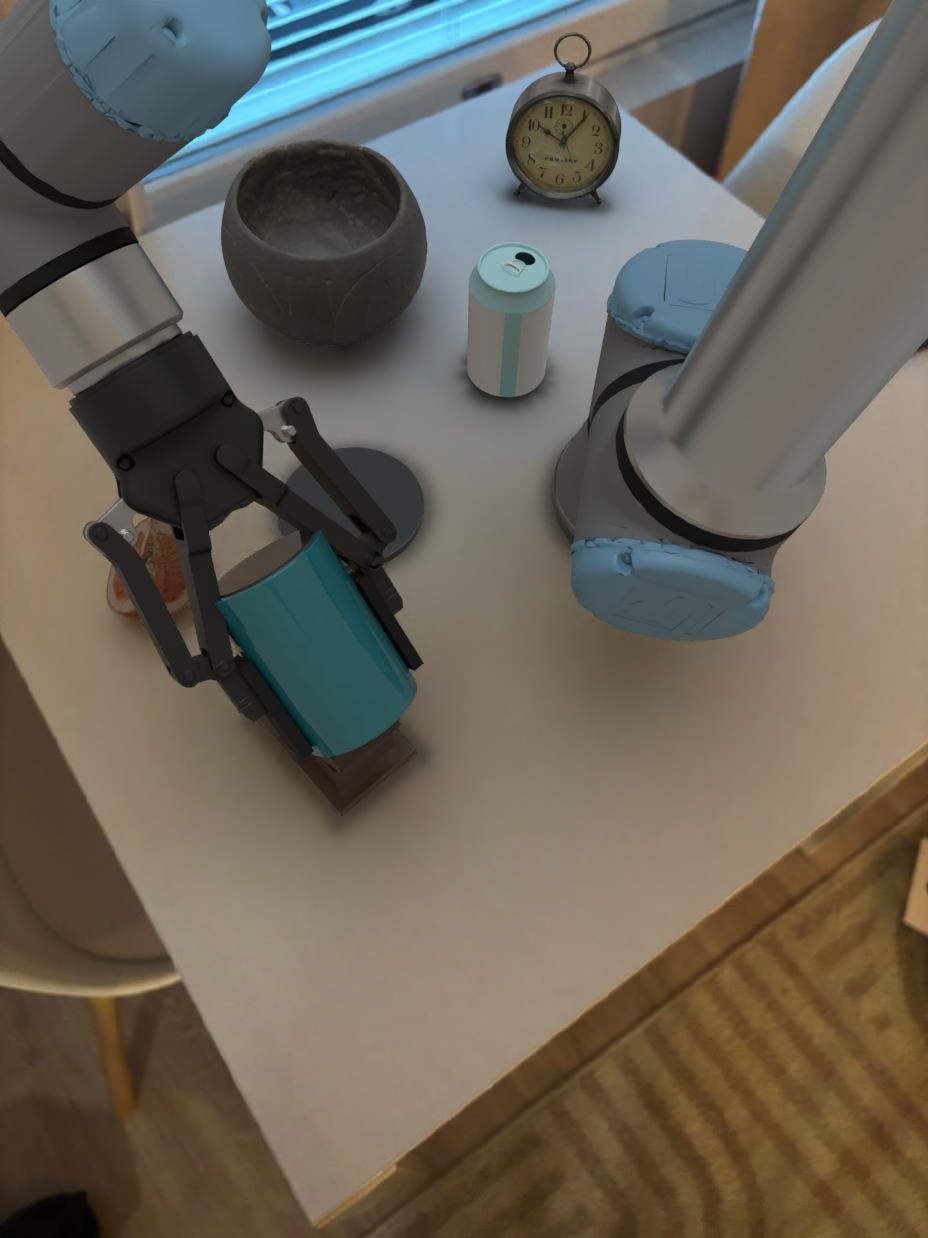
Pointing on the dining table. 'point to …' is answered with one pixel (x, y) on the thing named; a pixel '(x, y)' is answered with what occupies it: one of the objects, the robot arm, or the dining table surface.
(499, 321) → the can
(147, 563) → the fruit slice
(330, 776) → the cradle
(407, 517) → the coaster
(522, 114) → the alarm clock
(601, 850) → the dining table surface
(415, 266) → the bowl
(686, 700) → the dining table surface
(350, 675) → the cup
